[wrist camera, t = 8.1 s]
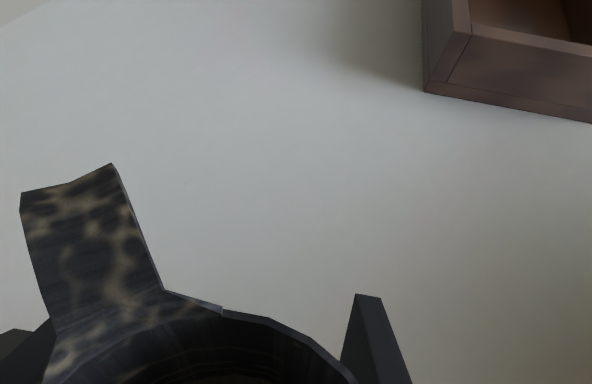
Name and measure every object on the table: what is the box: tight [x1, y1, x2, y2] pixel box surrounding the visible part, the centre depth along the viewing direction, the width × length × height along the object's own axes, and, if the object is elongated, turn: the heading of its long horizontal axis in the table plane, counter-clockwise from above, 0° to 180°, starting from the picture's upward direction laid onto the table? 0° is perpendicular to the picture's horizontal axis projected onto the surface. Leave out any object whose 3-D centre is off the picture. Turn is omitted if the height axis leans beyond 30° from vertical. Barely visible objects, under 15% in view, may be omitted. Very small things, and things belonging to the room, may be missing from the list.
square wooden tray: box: [422, 0, 592, 123], centre depth 29 cm, size 11×13×4 cm
